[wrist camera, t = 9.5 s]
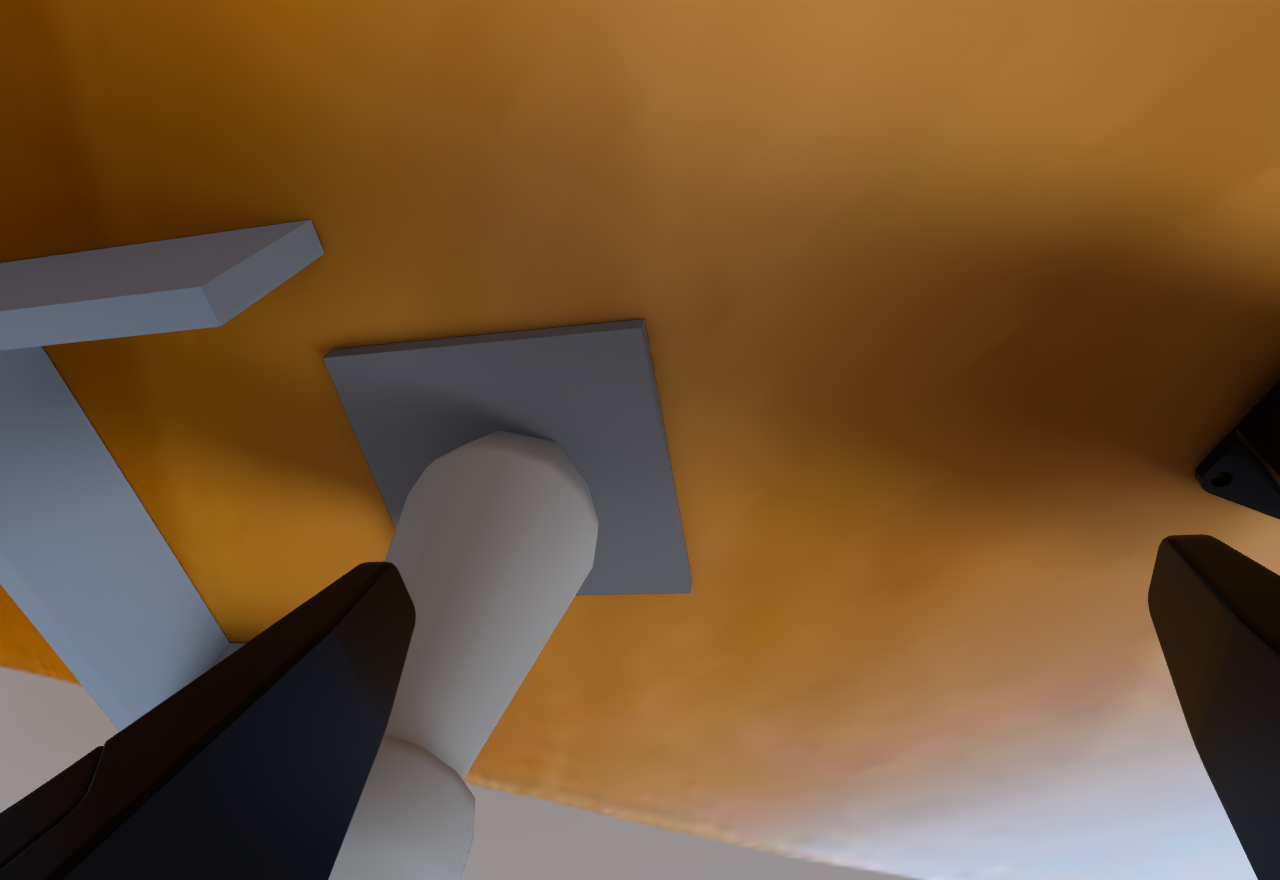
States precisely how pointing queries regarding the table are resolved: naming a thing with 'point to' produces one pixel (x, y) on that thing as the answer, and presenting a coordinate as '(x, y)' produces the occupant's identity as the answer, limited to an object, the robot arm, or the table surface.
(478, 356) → the coaster
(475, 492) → the salt shaker
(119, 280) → the cradle
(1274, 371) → the table surface
